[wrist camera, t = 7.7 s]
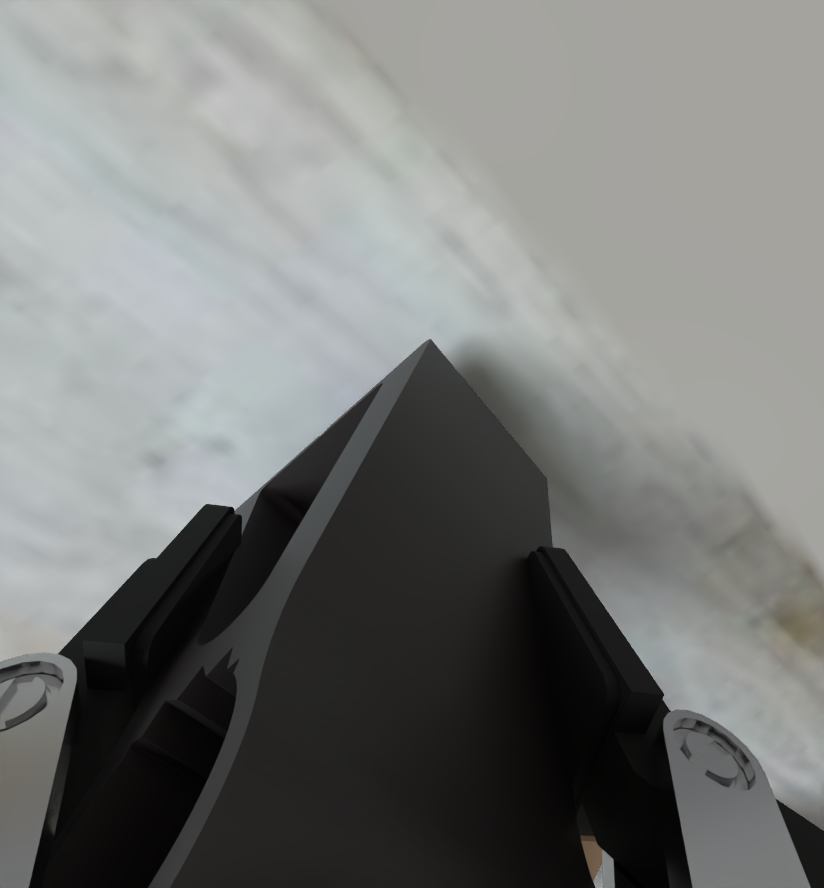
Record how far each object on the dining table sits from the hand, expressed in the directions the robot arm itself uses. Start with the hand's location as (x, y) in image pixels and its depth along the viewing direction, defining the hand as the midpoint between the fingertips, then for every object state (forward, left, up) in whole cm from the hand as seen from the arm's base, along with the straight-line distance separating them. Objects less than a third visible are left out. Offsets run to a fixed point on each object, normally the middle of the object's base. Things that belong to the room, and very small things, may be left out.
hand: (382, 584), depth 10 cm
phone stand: (0, 0, -5) cm, 5 cm away
